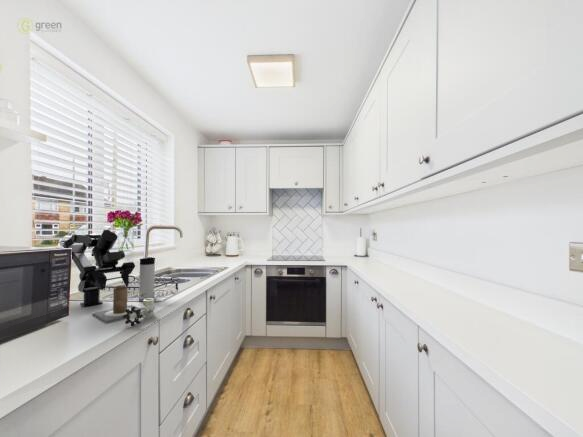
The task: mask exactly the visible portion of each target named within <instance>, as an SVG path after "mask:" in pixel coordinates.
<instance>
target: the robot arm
mask: <svg viewBox="0 0 583 437" xmlns="http://www.w3.org/2000/svg"><path fill="white" fill-rule="evenodd" d="M117 240H118V235H117V234H116V233H115V232H113V231H110V229H104V230H102V233H88V234H87V233H73V234H72V235H71V237H70V238H68V239H67V240H66V241H64V243H63V245H62V247H64V248H72V259H71V260H72V261H73V263H74V264H75V266H76V267H77V270H79V272H80V273H79V280H80V282H79V284H78V285H77V288H78V292H81V293H83V300H82V301H83V302H80V305H81V306H83V307H85V308H86V307H91V306H95V305H101V304H103V303H104V302H103V301H101V299H100V297H101V296H100V293H101V291H103V290H105V289H106V286H107V281H108V279H107V276H106V275H105V274H111V273H119V274H120V277H121V279H122V282H123V283H124V285H125V286H129V282H130V281H129V280H130V279H129V278H130V274H132V273H133V270H135V267H136V265H135V262H133V261H125V262H123V263H122V265H121V266H117V265H118V264H119V261H121V260H123V259H124V258H126V255H125V252H124V250H118V251H110V250H112V249H113V247H114V245H115V243H116V242H117ZM87 248H92V250H91V254H90V255H91V257H93V258H94V259H95V265H92V263H91V262H90V260H89V259H88V257H87V256H86V254H85V252H86V250H87Z"/></svg>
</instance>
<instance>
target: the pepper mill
mask: <svg viewBox="0 0 583 437" xmlns="http://www.w3.org/2000/svg"><path fill="white" fill-rule="evenodd" d="M128 288H129V287H126V284H122V285H121V284H120V285H116V286H115V288H113V294H112V295H113V297H112V298H113V299H112V301H113V302H112V309H113V313H114V314H120V313H125V310H126V309H127V306H128V290H129V289H128Z"/></svg>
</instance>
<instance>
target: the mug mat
mask: <svg viewBox="0 0 583 437" xmlns="http://www.w3.org/2000/svg"><path fill="white" fill-rule="evenodd" d="M133 306H135V305H133V304H129V305H127V309H129V310H131V307H133ZM135 307H136V308H135V310H138V309H140V308H141V307H138V306H135ZM125 314H126V315H127V313H126V312H125V313H120V314H114V313H113V308H111V309H106V310H101V311H95V312H92V315H91V316H93V317H95V318H96V319H98V320H99V321H102V322H103V323H105V324H110V323H113V322H117V321H121V320H124V319H125V320H127V319H126V318H123V315H125ZM130 315H132V314H129V319H131V318H130Z"/></svg>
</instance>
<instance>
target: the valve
mask: <svg viewBox="0 0 583 437" xmlns="http://www.w3.org/2000/svg"><path fill="white" fill-rule="evenodd" d="M136 307H137V306H136ZM136 307H135V305H133V307H131V310H129V309H126V310H125V312H126V313H127V315H126V314H125V315H123V318H126V319H125V322H124V324H126V325H128V324H129V323H130V327H134V326H135V325H139V324H141V322H142V321H141V320H140V319H143V318H144V319H150V318H153V317H155V308H156V306H155V298H154V299H153V298H148V299H144V300H143V302H142V307H139V308H140V309H138V310H135V308H136ZM129 314H132V315H130V318H129Z"/></svg>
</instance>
